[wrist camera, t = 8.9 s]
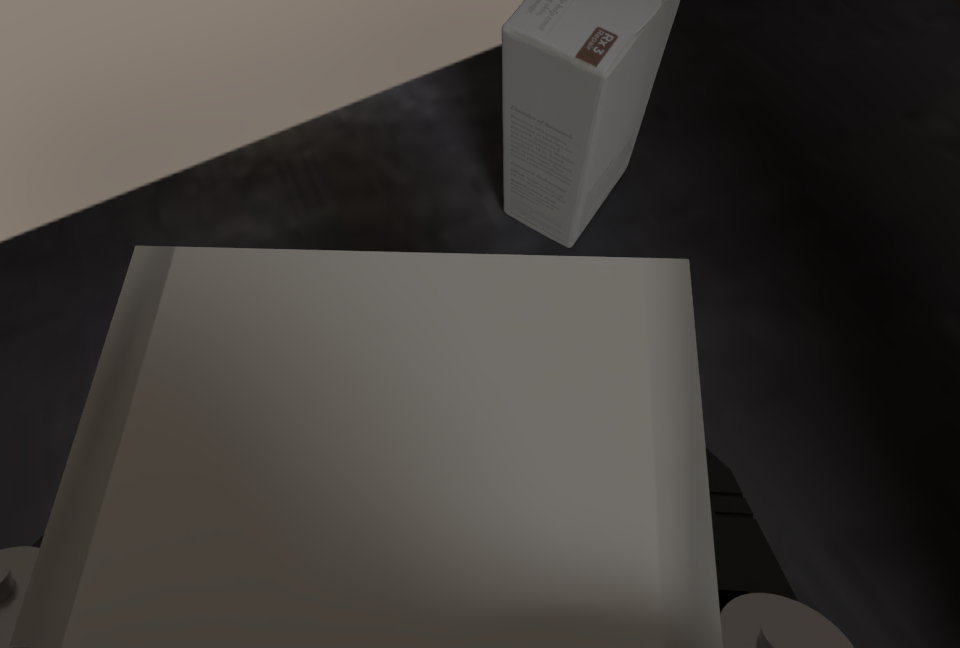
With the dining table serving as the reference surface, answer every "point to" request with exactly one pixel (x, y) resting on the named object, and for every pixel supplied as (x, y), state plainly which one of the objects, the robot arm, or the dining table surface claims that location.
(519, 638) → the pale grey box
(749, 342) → the dining table surface
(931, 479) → the dining table surface
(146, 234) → the dining table surface
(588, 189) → the skincare box
